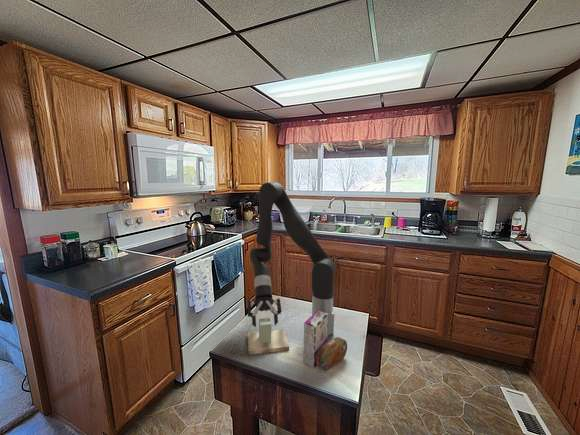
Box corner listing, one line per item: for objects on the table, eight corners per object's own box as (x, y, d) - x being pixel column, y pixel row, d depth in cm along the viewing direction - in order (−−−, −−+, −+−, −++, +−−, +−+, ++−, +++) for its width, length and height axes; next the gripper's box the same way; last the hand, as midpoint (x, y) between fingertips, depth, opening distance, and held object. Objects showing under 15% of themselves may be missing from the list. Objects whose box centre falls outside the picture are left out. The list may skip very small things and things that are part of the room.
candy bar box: (316, 347, 100) (317, 309, 98) (327, 352, 98) (329, 313, 96) (302, 363, 91) (303, 321, 89) (314, 369, 88) (316, 326, 86)
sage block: (269, 335, 105) (269, 318, 104) (271, 342, 101) (271, 323, 100) (258, 336, 104) (259, 319, 103) (260, 343, 99) (260, 325, 98)
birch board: (283, 332, 110) (283, 329, 110) (289, 349, 98) (289, 346, 98) (247, 336, 107) (247, 333, 106) (248, 354, 95) (248, 351, 95)
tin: (320, 375, 85) (321, 353, 84) (314, 370, 88) (315, 348, 87) (347, 357, 95) (348, 336, 94) (340, 352, 97) (341, 332, 96)
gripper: (247, 285, 106) (248, 324, 96) (279, 283, 109) (283, 321, 99) (246, 291, 112) (247, 329, 102) (277, 289, 115) (281, 326, 105)
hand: (265, 325), depth 101 cm, fingers open, 8 cm apart
